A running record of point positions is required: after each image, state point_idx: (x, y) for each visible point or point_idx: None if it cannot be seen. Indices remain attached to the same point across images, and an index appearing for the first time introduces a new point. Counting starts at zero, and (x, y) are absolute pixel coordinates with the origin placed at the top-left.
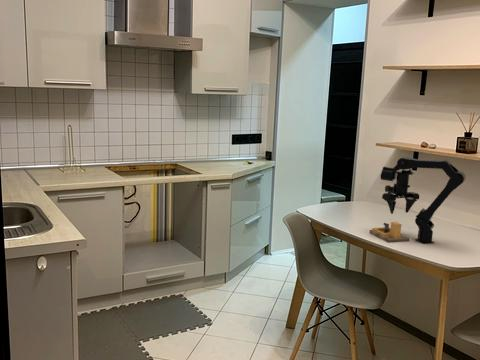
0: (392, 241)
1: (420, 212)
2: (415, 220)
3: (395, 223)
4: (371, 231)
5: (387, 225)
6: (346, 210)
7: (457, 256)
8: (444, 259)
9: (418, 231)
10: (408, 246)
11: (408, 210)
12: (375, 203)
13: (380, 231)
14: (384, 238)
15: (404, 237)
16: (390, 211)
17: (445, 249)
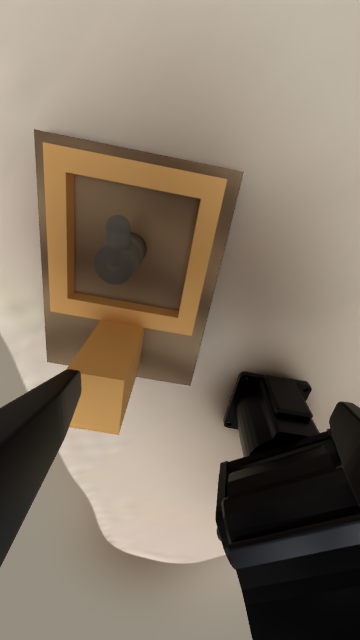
0: None
1: (254, 635)
2: (222, 506)
3: (76, 410)
4: (37, 163)
5: (108, 279)
6: None
7: (214, 524)
8: (145, 523)
9: (274, 407)
10: (124, 415)
11: (353, 464)
12: None
13: (57, 258)
14: (48, 324)
15: (171, 368)
16: (47, 385)
17: None
